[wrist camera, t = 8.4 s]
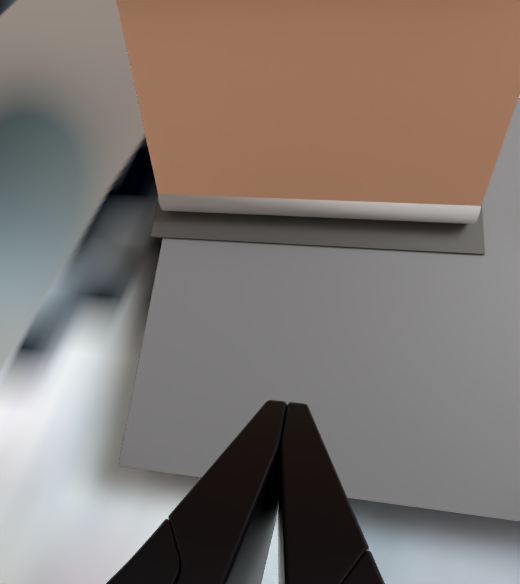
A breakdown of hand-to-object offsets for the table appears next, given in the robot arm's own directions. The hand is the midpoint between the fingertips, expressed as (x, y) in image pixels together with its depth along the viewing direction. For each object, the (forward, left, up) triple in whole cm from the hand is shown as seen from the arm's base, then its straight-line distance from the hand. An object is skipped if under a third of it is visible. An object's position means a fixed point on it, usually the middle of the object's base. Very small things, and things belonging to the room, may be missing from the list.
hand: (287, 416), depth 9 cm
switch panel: (+6, -5, -8) cm, 11 cm away
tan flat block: (+8, 0, -6) cm, 10 cm away
